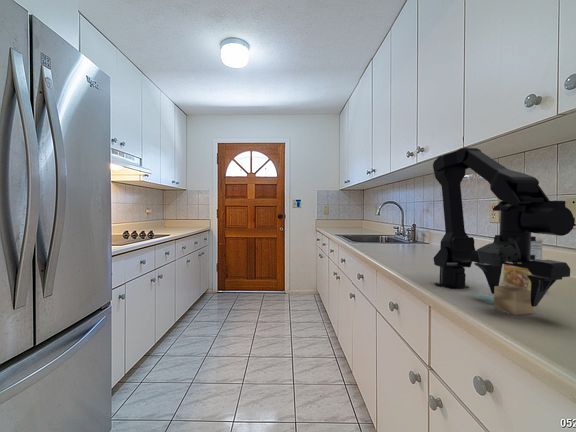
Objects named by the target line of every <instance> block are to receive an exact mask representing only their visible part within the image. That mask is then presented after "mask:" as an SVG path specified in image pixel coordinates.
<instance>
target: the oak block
mask: <svg viewBox="0 0 576 432" xmlns="http://www.w3.org/2000/svg"><path fill="white" fill-rule="evenodd" d="M493 296H494V304H493V305H494V308H497V309H500V310H502V311H505V312H508V313H511V314H513V315H520V314H529V313H532V312H534V311H533V309H534V307H533V306H531V290H528V289H524V288H521V287H517V286H513V285H504V284H503V285H499V286H494V294H493Z"/></svg>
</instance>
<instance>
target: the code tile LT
mask: <svg viewBox="0 0 576 432" xmlns="http://www.w3.org/2000/svg"><path fill="white" fill-rule="evenodd" d="M483 307H485V308H488V309H490V310H492V311H493V310H494V311H496V312H498V313H501V314H503V315H506V316H509V317H511V318H514V319H522V318H523V319H524V318H533V317H543V316H544V314H542V313H539V312H536V311H533V312H532V313H529V314H520V315H513V314H511V313H508V312H505V311H502V310H500V309H497V308H494V304H490V305H483Z"/></svg>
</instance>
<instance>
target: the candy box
mask: <svg viewBox="0 0 576 432" xmlns="http://www.w3.org/2000/svg"><path fill="white" fill-rule="evenodd" d="M531 255H535V260H543V238H540V237H539V238H538V237H536V241H531ZM530 261H532V260H530ZM517 263H518V262H517ZM520 264H522V263H520ZM502 269H503V272H502V274H503V275H502V284H503V286H504V285H513V286H517V287H521V288H524V289H528V290H531V281H530V280H529V278H528V277H527V275H532V274H531V272H530V271H529V270H528V269H526V268H521V267H516V266H511V265H506V264H503V268H502Z"/></svg>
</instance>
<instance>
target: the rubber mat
mask: <svg viewBox="0 0 576 432" xmlns="http://www.w3.org/2000/svg"><path fill="white" fill-rule="evenodd" d="M473 298H474V299H477V300H479V301H483V302H486V303H488V304H490V305H494V295H491V294H490V295H489V294H488V295H487V294H486V295H476V296H473Z"/></svg>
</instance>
